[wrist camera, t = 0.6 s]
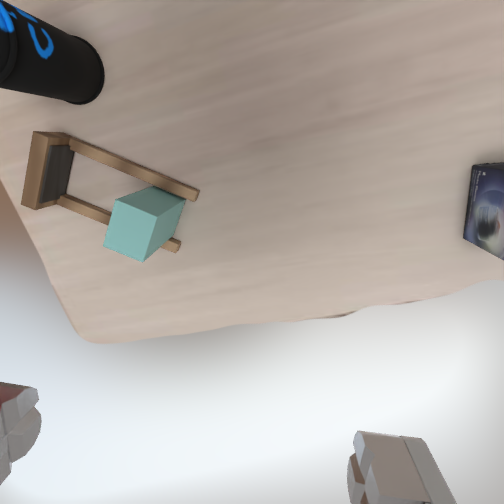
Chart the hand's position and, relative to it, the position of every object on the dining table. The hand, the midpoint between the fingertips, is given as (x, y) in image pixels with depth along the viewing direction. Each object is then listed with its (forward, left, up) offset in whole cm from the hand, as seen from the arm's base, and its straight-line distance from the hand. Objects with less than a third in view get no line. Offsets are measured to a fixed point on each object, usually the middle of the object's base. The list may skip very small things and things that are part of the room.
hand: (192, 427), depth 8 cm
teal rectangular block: (+1, -15, -41) cm, 44 cm away
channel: (-2, -21, -41) cm, 46 cm away
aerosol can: (-19, -23, -41) cm, 51 cm away
